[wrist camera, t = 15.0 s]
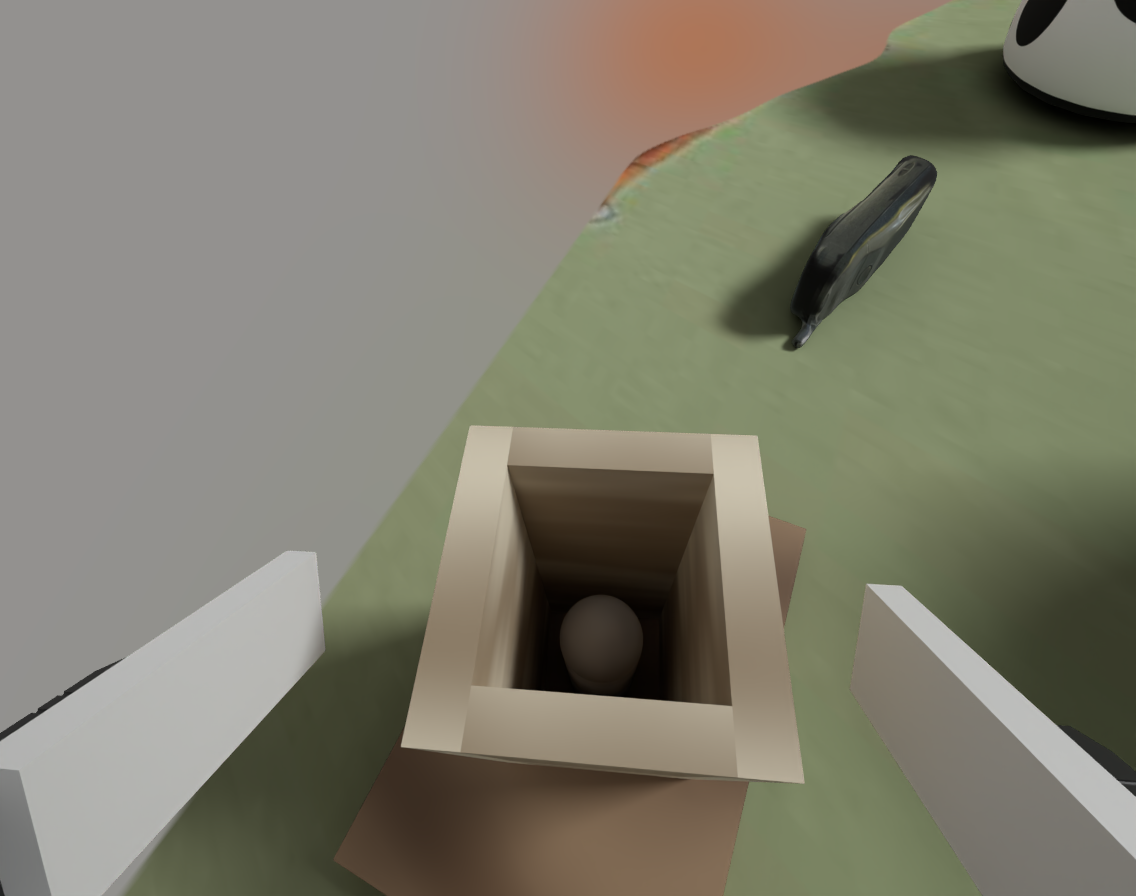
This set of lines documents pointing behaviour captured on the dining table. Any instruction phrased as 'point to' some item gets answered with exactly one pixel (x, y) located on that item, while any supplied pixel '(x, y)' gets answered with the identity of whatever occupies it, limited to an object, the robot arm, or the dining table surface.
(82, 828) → the robot arm
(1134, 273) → the dining table surface
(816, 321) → the mobile phone
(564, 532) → the wooden pencil cup
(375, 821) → the flat brown rectangular board
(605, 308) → the dining table surface
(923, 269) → the dining table surface
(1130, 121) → the doce de leite jar
